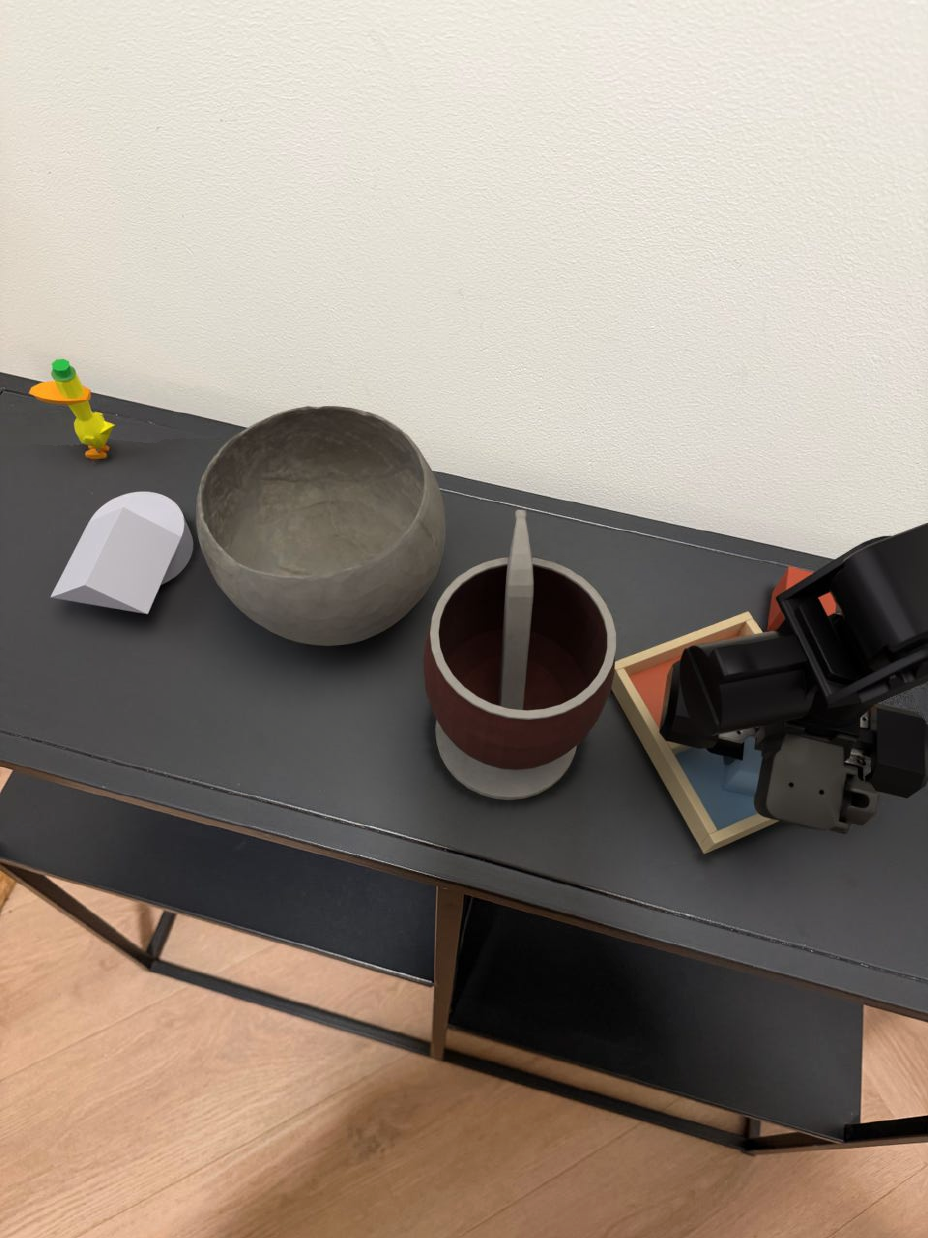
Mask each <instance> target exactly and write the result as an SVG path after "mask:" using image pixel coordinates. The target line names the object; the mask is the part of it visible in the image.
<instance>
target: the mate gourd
mask: <svg viewBox="0 0 928 1238" xmlns="http://www.w3.org/2000/svg"><path fill="white" fill-rule="evenodd" d="M514 519H515V523H514V524H515V525H514V529H513V534H512V539H511V545H510V550H509V556H508V557H500V558H496V559H495V558H494V559H492V560H488V561H485V562H482V563H479V564H478V565H476V566H473V567H471V568H469V569H468V570H466V571H464V572H463V573H462V574H460V575H458V576H457V577H456V578H455V579H454V580H453V581H452V582H451V583H450V585H449V586H448V587H447V588H445V590H444V591H443V593H442V594H441V596H440V598H439V599H438V601H437V602H436V606H435V608H434V611H433V614H432V616H431V622H430V624H429V628H428V631H427V634H426V638H425V642H424V650H423V657H422V660H423V664H422V665H423V680H424V688H425V693H426V697H427V699H428V702H429V706H430V708H431V711H432V713H433V716H434V717H435V731H434V732H435V740H436V741H435V742H436V746H437V749H438V752H439V756H440V758H441V761H443V763H444V766H445V767H446V769H447V770H448V771H449V773H451V775H452V776H453V777H454V778H455V779H456V780H457V781H458V782H459V783H460V784H462V785H463V786H464V787H466V788H467V789H469V790H470V791H472V792H475V793H476V794H479V795H481V796H484V797H487V798H491V799H495V800H504V801H505V800H506V801H515V800H524V799H527V798H530V797H533V796H538V795H539V794H541V793H543V792H545V791H547V790H549V789H550V788H551V787H553V785H555V784H556V783H558V781H560V780H561V779H562V777H563V776H564V775H565V774H566V773H567V771H568V770H569V768H570V766H571V764H572V762H573V760H574V758H575V754H576V751H577V746H578V745H579V744H580V743H581V742H582V741H583V739H584V738H585V737H587V735H588V734H589V733H590V731H591V730H592V729H593V727H594V726H595V725H596V723H597V722H598V721H599V719H600V717H601V715H602V712H603V711H604V708H605V706H606V704H607V702H608V699H609V696H610V694H611V691H612V689H611V687H612V682H613V678H614V670H615V662H616V650H617V633H616V628H615V624H614V619H613V616H612V614H611V612H610V611H609V607H608V605H607V603H606V602H605V601H604V599H603V597H602V596H601V595H600V594H599V592H598V591H597V589H595V588H594V587H593V586H592V585H591V584H590V583H589V582H588V581H587V580H586V579H585V578H584V577H582V576H581V575H579V574H577V573H576V572H575V571H573V570H572V569H569V568H567V567H565V566H563V565H561V564H559V563H556V562H553V561H550V560H545V559H542V558H538V557H533V556H532V550H531V544H530V543H531V542H530V538H529V537H530V536H529V529H528V525H527V510H526V509H517V510H515V511H514Z"/></svg>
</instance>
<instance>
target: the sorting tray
mask: <svg viewBox="0 0 928 1238" xmlns="http://www.w3.org/2000/svg"><path fill="white" fill-rule="evenodd" d="M758 633H764V632H763V631H762V629H761V627H759V625H758V623H757V622H756V620H755V619H754V617H753V616H752V614H751V613H750V612H749V611H745V612H742V613H740V614H738V615H735V616H732V617H730V618H727V619H725V620H722V621H718V622H715V623H714V624H711V625H709V626H706V627H703V628H700V629H698V630H695V631H692V632H690V633H688V634H684V635H681V636H680V637H677V638H674V639H671V640H669V641H666V642H664V643H660V644H658V645H655V646H653V647H650V648H648V649H645V650H643V651H639V652H637V653H635V654H632V655H628V656H626V657H624V658H621V659H619V660H618V659H617V660H615V670H614V678H613V682H612V687H611V691H612V693H613V694H614V696H615V698H616V700H617V702H618V704H619V705H620V707H621V709H622V711H623V712H624V715H625V716H626V718H627V720H628V722H629V723H630V725H631V726H632V729H633V731H634V733H635V734H636V736H637V737H638V739H639V741H640V743H641V744H642V745H641V746H643V748H644V750H645V751H646V754H647V755H648V757H649V759H650V761H651V763H652V764H653V766H654V768H655V769H656V772H657V773H658V775H659V777H660V779H661V781H662V782H663V784H664V786H665V787H666V790H667V791H668V792H669V795H670V796H671V798H672V800H673V802H674V804H675V805H676V807H677V809H678V811H679V812H680V814H681V816H682V818H683V820H684V821H685V823H686V825H687V827H688V829H689V830H690V832H691V834H692V835H693V838H694V839H695V841H696V843H697V844H698V846H699V849H700V850H701V852H702V854H703V855H706V854H708V853H711V852H713V851H715V850H718V849H719V848H722V847H724V846H727V845H729V844H731V843H733V842H736V841H737V840H739V839H742V838H745V837H747V836H748V835H751V834H753V833H756V832H757V831H760V830H762V829H764V828H766V827H769V826H771V825H774V824H776V823H778V822H779V821H778V820H774V819H769V818H766V817H763V816H761V815H760V814H758V813H757V811H756V810H755V807H754V797H752V796H748V795H744V794H740V793H735V792H731V791H727V790H723V780H724V770H725V764H724V760H723V756H720V755H716V754H712V753H710V752H708V751H707V750H706V748H704V749H698V748H694V747H689V746H685V745H681V744H677V743H673V742H669V741H665V740H664V738H663V737H662V736H661V734H660V733H659V729H660V722H661V715H662V708H663V701H664V694H665V687H666V680H667V674H668V672H669V670H670V668H671V666H672V664H674V663H675V662H677V661H678V660H680V659H681V656H682V653H683V651H684V649H685V648H688V647H690V646H692V645H697V644H703V643H709V642H714V641H720V640H725V639H731V638H736V637H742V636H747V635H753V634H758Z"/></svg>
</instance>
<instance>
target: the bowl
mask: <svg viewBox="0 0 928 1238" xmlns="http://www.w3.org/2000/svg"><path fill="white" fill-rule="evenodd" d="M444 504H445V503H444V500H443V495H442V492H441V490H440V487H439V484H438V482H437V479H436V476H435V475H434V471H433V469H432V467H431V466H430V464H429V462H428V460H427V459H426V458H425V457H424V454H423V453H422V451H421V450H420V448H419V447H418V446H417V444H416V443H415V442H414V441H413V439H412V438H411V437H410V435H408V434H407V433H406V432H405V431H403V430H402V429H401V428H400V427H399V426H397V425H396V424H394V422H391V420H388V419H387V418H384V417H383V416H381V415H379V414H376V413H373V412H370V411H365V410H362V409H359V408H353V407H347V406H339V405H321V406H313V405H312V406H311V405H307V406H301V407H296V408H291V409H287V410H284V411H281V412H278V413H275V414H272V415H270V416H268V417H266V418H264V419H261V420H260V421H257V422H256V423H254V424H252V425H250V426H248V427H246V428H245V429H243V430H242V431H240V432H238V433H236V434H234V435H233V436H232V437H231V438H230V439H228V440H227V441H226V442H225V443H223V445H222V446H221V447H220V448H219V449H218V451H217V453H216V454H214V455H213V457H212V459H211V460H210V462H209V463H208V464H207V465H206V468H205V470H204V472H203V473H202V477H201V480H200V483H199V487H198V491H197V496H196V508H195V524H196V532H197V538H198V542H199V544H200V548H201V552H202V554H203V557H204V560H205V563H206V565H207V567H208V568H209V571H210V573H211V575H212V577H213V579H214V581H215V582H216V584H217V586H218V587H219V588H220V590H221V591H222V592H223V593H224V594H225V596H227V598H228V599H229V600H230V601H231V603H232V604H233V605H234V606H235V607H236V608H237V609H239V611H240V612H241V613H242V614H244V615H245V616H246V617H247V618H249V619H250V620H251V621H252V622H254V623H256V625H257V624H258V625H259V626H261V627H263V629H265V630H267V631H268V632H271V633H272V634H275V635H277V636H280V637H282V638H284V639H286V640H290V641H292V642H295V643H300V644H306V645H312V646H325V647H330V646H331V647H332V646H342V645H350V644H355V643H359V642H362V641H365V640H367V639H370V638H372V637H374V636H376V635H378V634H380V633H382V632H384V631H386V630H387V629H390V628H391V627H392V626H393V625H395V624H396V623H398V622H399V621H400V620H401V619H403V618H405V616H407V614H408V613H409V612H410V611H411V610H413V608H414V607H415V606H416V605H417V604H418V603H419V602H420V600H422V598H424V596H425V595H426V593H427V592H428V591H429V589H430V587H431V586H432V584H433V583H434V582H435V579H436V578H437V575H438V572H439V569H440V567H441V563H442V559H443V554H444V552H445V546H446V536H447V521H446V511H445V510H446V509H445V505H444Z"/></svg>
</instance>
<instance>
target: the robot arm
mask: <svg viewBox="0 0 928 1238" xmlns="http://www.w3.org/2000/svg"><path fill="white" fill-rule="evenodd" d="M827 593H831V595H832V597H833V599H834V601H835V603H836V608H837V609H838V611H836V612H835V613H833V614H831V615H829V616H827V614H826V612H825V610H824V608H823V606H822V604H821V602H820V600H819V598H818V597H821V596H823V595H825V594H827ZM776 601H777V603H778V605H779V608H780V610H781V612H782V614H783V616H784V618H785V620H784V621H783V622H782V624H781V625H780V627H779V628H778V629H777V630H774V631H764V632H763V633H758V634H753V635H747V636H742V637H736V638H731V639H725V640H720V641H714V642H709V643H703V644H697V645H692V646H690V647H688V648H685V649H684V651H683V653H682V656H681V659H680V660H678V661H677V662H675V663H674V664H672V666H671V668H670V670H669V672H668V674H667V680H666V687H665V694H664V701H663V708H662V715H661V722H660V729H659V733H660V734H661V736H662V737H663V738H664V740H665V741H669V742H673V743H677V744H681V745H685V746H689V747H694V748H698V749H704V748H706V750H707V751H708V752H710V753H712V754H716V755H720V756H723V760H724V764H725V765H730V764H731V763H733V762H734V760H735V759H737V760H741V761H743V754H744V742H745V740H746V739H747V738H748V737H751V738H755V746H754V750H758V751H761V756H762V762H761V767H760V773H759V778H758V784H757V789H756V793H755V796H754V807H755V810H756V811H757V813H758V814H760V815H761V816H763V817H766V818H769V819H774V820H778V822H782V823H786V824H790V825H795V826H798V827H802V828H808V829H812V830H820V831H830V832H833V833H838V834H842V835H848V833H849V831H850V827H851V826H852V825H856V826H864V825H865V824H867V823H869V821H870V820H871V819H872V818H873V817H875V816H876V815H877V811H878V805H879V799H880V798H879V797H880V795H879V794H878V793H882V794H885V795H891V796H895V797H899V798H903V799H909V798H910V797H912V796H913V795H915V794H916V793H918V792H919V791H921V790H922V789H924V788H925V787H926V786H927V783H928V723H927V722H926V720H925V718H924V717H923V716H922V715H921V714H920V713H919V712H918V711H917V712H916V711H912V710H908V709H904V708H899V707H895V706H890V705H886V704H883V703H881V702H884V701H886V700H889V699H892V698H893V697H895V696H898V695H900V694H902V693H905V692H907V691H909V690H912V689H915V688H917V687H920V686H921V685H924V684H926V683H928V522H925V523H923V524H920V525H917V526H915V527H912V528H910V529H909V528H908V529H907V530H904V531H901V532H898V533H896V534H893V535H881V536H877V537H873V538H870V539H868V540H865V541H862V542H861V543H859V544H858V545H856V546H854V547H853V548H851V549H849V550H848V551H846V552H845V553H842V554H840V556H838V557H836V558H835V559H833V560H832V561H830V562H829V563H827V564H825V565H824V566H822V567H820V568H819V569H818V570H816V571H814V572H813V574H811V575H809V576H808V577H806V578H805V579H803V580H801V581H800V582H798V583H797V584H795V585H793V586H792V587H790V588H789V589H787V590H785V591H784V592H782V593H781V594H779V595H778V596H776ZM757 727H758V728H757ZM867 762H870V771H869V772H868V773H867V774H865V771H864V770H865V767H866V766H867ZM864 774H865V775H864Z"/></svg>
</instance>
